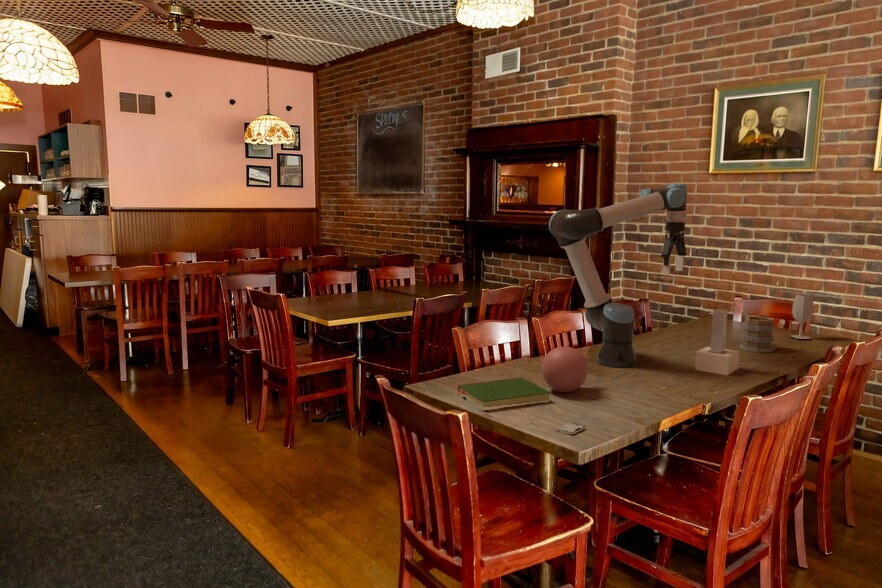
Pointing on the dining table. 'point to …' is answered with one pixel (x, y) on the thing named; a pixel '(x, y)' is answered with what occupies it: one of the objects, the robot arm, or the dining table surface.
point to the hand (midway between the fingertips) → (672, 272)
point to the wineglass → (802, 312)
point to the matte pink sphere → (564, 369)
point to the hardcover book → (504, 392)
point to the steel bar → (718, 331)
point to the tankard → (757, 333)
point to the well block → (717, 361)
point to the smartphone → (571, 427)
